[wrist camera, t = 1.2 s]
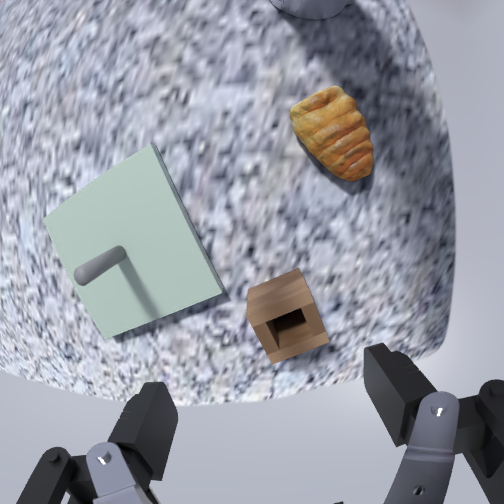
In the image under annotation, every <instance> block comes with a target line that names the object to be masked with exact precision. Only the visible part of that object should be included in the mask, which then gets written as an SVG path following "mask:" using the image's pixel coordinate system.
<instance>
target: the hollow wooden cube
mask: <svg viewBox="0 0 504 504" xmlns="http://www.w3.org/2000/svg"><path fill="white" fill-rule="evenodd" d="M299 308H301V309H300V310H298V311H295V312H293V313H291V314H288V315H286V316H283V317H281V318H278V319H276V320H275V318H277V317H279V316H282V315H284V314H287V313H289V312H292V311H294V310H296V309H299ZM246 316H247V318H248V320H249V322H250V324H251V326H252V327H253V329H254V331H255V333H256V335H257V337H258V339H259V341H260V343H261V344H262V346H263V348H264V350H265V352H266V354H267V356H268V357H269V359H270V361H271V363H272V364H275V363H277V362H280V361H283V360H285V359H288V358H291V357H293V356H296V355H299V354H301V353H304V352H306V351H309V350H311V349H314V348H316V347H318V346H321V345H323V344H326V343H328V342H330V341H329V339H328V336H327V334H326V331H325V328H324V326H323V323H322V321H321V318H320V316H319V313H318V311H317V308H316V306H315V303H314V301H313V298H312V296H311V293H310V291H309V289H308V286H307V284H306V282H305V280H304V278H303V276H302V274H301V272H300V269H299V268H297V269H295V270H293V271H290V272H288V273H286V274H283V275H281V276H279V277H276V278H274V279H272V280H269V281H267V282H265V283H262V284H260V285H257V286H255V287H253V288H250V289H248V299H247V314H246Z"/></svg>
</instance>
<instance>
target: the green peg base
mask: <svg viewBox="0 0 504 504" xmlns="http://www.w3.org/2000/svg"><path fill="white" fill-rule="evenodd" d="M43 221H44V223H45V226H46V228H47V231H48V233H49V235H50V238H51V240H52V242H53V245H54V247H55V249H56V251H57V253H58V256H59V258H60V260H61V262H62V264H63V266H64V268H65V270H66V272H67V274H68V276H69V278H70V280H71V282H72V284H73V286H74V288H75V289H76V291H77V293H78V295H79V297H80V299H81V300H82V302H83V304H84V306H85V307H86V309H87V311H88V313H89V314H90V316H91V318H92V319H93V321H94V323H95V324H96V326H97V327H98V329H99V331H100V332H101V334H102V335H103V337H104V338H105V339H107V338H109V337H112V336H115V335H117V334H120V333H123V332H125V331H128V330H130V329H133V328H136V327H138V326H141V325H143V324H146V323H149V322H151V321H154V320H156V319H159V318H161V317H164V316H166V315H169V314H172V313H174V312H177V311H179V310H182V309H184V308H187V307H189V306H192V305H194V304H197V303H199V302H201V301H204V300H206V299H209V298H211V297H214V296H216V295H219V294H221V293H222V292H223V288H224V287H223V285H222V283H221V281H220V279H219V277H218V275H217V273H216V271H215V269H214V267H213V265H212V263H211V261H210V259H209V257H208V255H207V253H206V251H205V249H204V247H203V245H202V243H201V241H200V239H199V237H198V235H197V233H196V231H195V229H194V227H193V225H192V223H191V221H190V219H189V216H188V214H187V212H186V210H185V208H184V206H183V204H182V202H181V200H180V197H179V195H178V193H177V191H176V189H175V187H174V185H173V182H172V180H171V178H170V176H169V174H168V171H167V169H166V167H165V165H164V163H163V160H162V158H161V156H160V154H159V151H158V149H157V147H156V146H155V145H152V144H150V145H148V146H147V147H145V148H143V149H142V150H140V151H138V152H136V153H135V154H133V155H132V156H130V157H128V158H127V159H125V160H124V161H122V162H120V163H119V164H117V165H116V166H114V167H113V168H111V169H110V170H108V171H107V172H105V173H104V174H102V175H101V176H99V177H98V178H96V179H95V180H93V181H92V182H91V183H89V184H88V185H86V186H85V187H84V188H82V189H81V190H79V191H78V192H77V193H75V194H74V195H73V196H71V197H70V198H69V199H67V200H66V201H65V202H64V203H62V204H61V205H60V206H58V207H57V208H56V209H55V210H53V211H52V212H51V213H50V214H48V215H47V216H46V217H45V218H44V219H43Z"/></svg>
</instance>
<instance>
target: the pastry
mask: <svg viewBox="0 0 504 504" xmlns="http://www.w3.org/2000/svg"><path fill="white" fill-rule="evenodd" d="M290 118H291V122H292V125H293V130H294V133H295V134H296V136H297V137H298V138H299V139H300V140H301V142H302V143H303V144H304V145H305V146H306V148H307V149H308V150H309V152H310V153H311V154H312V155H313V156H315V157H316V158H317V159H318V160H319V161H320V162H321V163H322V164H323V165H324V166H325V167H326V168H327V169H328V170H329V171H330V172H331V173H332V174H334V175H335V176H337V177H339V178H341V179H343V180H346V181H349V182H353V181H357V180H359V179H361V178H363V177H366V176H368V175H369V174H370V173H371V171H372V166H373V163H374V160H373V155H372V152H373V145H372V143H371V141H370V132H369V130H368V129H367V127H366V120H365V119H364V117H363V116H362V115H361V114H360V113H359V111H358V110H357V102H356V101H355V100H354V99H353V98H352V97H350V96H348V95H347V94H346V93H345V92H344V90H343V89H342V88H341V87H339V86H332V87H329V88H327V89H324V90H321V91H319V92H316V93H314V94H313V95H311V96H310V97H309V98H306V99H304V100H303V101H300V102H299V103H297V104H295V105H293V106H292V107H291V109H290Z"/></svg>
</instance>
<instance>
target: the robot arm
mask: <svg viewBox="0 0 504 504" xmlns="http://www.w3.org/2000/svg"><path fill="white" fill-rule="evenodd" d="M270 1H271V2H272V4H273V5H275V6H276V7H277V8H279V9H280V10H282V11H284V12H286V13H287V14H290V15H293V16H296V17H300V18H304V19H313V20H316V19H326V18H331V17H333V16H335V15H337V14H338V13H340V12H341V11H342V10H343V8H344V7H345V6H346V5H348V4H353V2H354V0H270ZM364 384H365V388H366V390H367V393H368V395H369V396H370V398H371V400H372V402H373V404H374V406H375V408H376V409H377V411H378V413H379V415H380V417H381V419H382V421H383V423H384V425H385V427H386V428H387V430H388V432H389V434H390V436H391V438H392V440H393V442H394V444H395V446H396V447H398V446H401V445H403V444H406V445H407V449H406V451H405V453H404V456H403V459H402V462H401V464H400V467H399V469H398V472H397V474H396V477H395V479H394V482H393V484H392V486H391V489H390V491H389V493H388V495H387V498H386V500H385V502H384V504H443V502H444V499H445V496H446V492H447V489H448V485H449V481H450V477H451V473H452V469H453V464H454V459H455V454H459V453H463V455H464V457H465V458H466V460H467V462H468V464H469V465H470V467H471V469H472V471H473V473H474V474H475V476H476V478H477V480H478V481H479V484H480V485H481V487H482V489H483V491H484V493H485V495H486V497H487V498H488V501H489V503H490V504H504V381H503V380H490V381H488V382H486V383H484V385H483V386H482V387H481V389H480V391H479V394H478V395H475V396H471V397H466V398H461V399H457V398H456V397H455V396H454V395H453V394H450V393H447V392H438V391H437V390H436V389H435V387H434V386H433V385H432V384H431V383H430V381H429V380H428V379H427V378H426V377H425V376H424V374H423V373H422V372H421V371H419V369H418V367H417V366H416V365H415V364H414V363H413V362H412V360H411V359H410V358H409V357H408V356H407V355H405V354H403V353H401V352H399V351H394V352H391V351H390V350H389V349H388V348H387V346H386V345H385V344H384V343H379V344H376V345H372V346H369V347H365V348H364ZM177 422H178V413H177V409H176V407H175V405H174V402H173V400H172V398H171V396H170V394H169V392H168V389H167V387H166V385H165V383H164V382H146V383H144V385H143V387H142V389H141V391H140V393H139V394H135V395H134V396H133V397H132V398H131V399H130V400H129V401H128V402H127V404H126V406H125V407H124V409H123V412H122V413H121V415H120V419H118V421H117V423H116V425H115V427H114V429H113V431H112V433H111V435H110V437H109V439H108V441H107V442H103V443H99V444H97V445H95V446H93V447H92V448H91V449H90V450H89V452H88V453H87V455H81V456H71V455H70V454H69V453H68V452H67V451H66V449H64V448H61V447H54V448H51V449H49V450H47V451H46V452H45V453H44V454H43V455H42V457H41V459H40V460H39V462H38V464H37V466H36V468H35V469H34V471H33V473H32V475H31V476H30V478H29V480H28V482H27V484H26V486H25V488H24V490H23V491H22V493H21V495H20V497H19V499H18V501H17V503H16V504H61V501H62V499H63V496H64V494H65V492H67V493H68V494H69V495H70V498H69V501H68V503H67V504H160V502H159V500H158V499H157V497H156V495H155V494H154V492H153V490H152V489H151V488H150V486H149V484H150V481H151V480H157V481H162V478H163V474H164V470H165V467H166V463H167V459H168V455H169V452H170V448H171V444H172V441H173V437H174V434H175V430H176V427H177ZM335 504H343V502H339V503H335Z"/></svg>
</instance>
